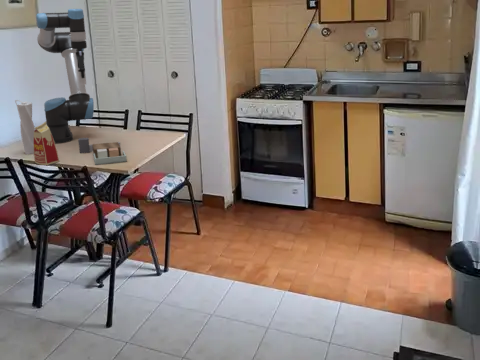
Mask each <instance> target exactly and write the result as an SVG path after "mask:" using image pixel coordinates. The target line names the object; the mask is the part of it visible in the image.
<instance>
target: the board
mask: <svg viewBox="0 0 480 360" xmlns="http://www.w3.org/2000/svg"><path fill="white" fill-rule="evenodd" d="M118 142H119V141H116V142H115V141H112V142H104V143H93V144H91V145H92V147H93V152H92V153H93V154H95V157H96V158H98V155H97V150H98V149H107V156H108V157H109V148H118V150H119V156H122V151H121V149H122V148H120V147H121V144H120V145H119V143H118ZM93 154H92V155H93Z"/></svg>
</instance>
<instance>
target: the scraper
mask: <svg viewBox="0 0 480 360" xmlns="http://www.w3.org/2000/svg"><path fill="white" fill-rule="evenodd" d="M77 140H78V148H79V154H86V153H87V154H89V153H93V147H92V144H90V140H89V137H80V138H78V139H77ZM117 142H118V143H119V145H120V148H121V141H117ZM121 149H122V148H121Z"/></svg>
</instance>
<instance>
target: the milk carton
mask: <svg viewBox="0 0 480 360" xmlns="http://www.w3.org/2000/svg"><path fill="white" fill-rule="evenodd" d="M34 128H35V131H34V142H33V143H34V153H33V156H34V157H33V159H34V163H35V164H37V165H39V166H49V165H53V164H56V163H60V158H59V154H58V150H57V149H58V148H57V145H56V143H55V142H54V139H53V136H52V134H51V132H50V129H49V127H48V126H47V124H46V121H44V122H43V123H41V124H40V125H38V126H36V127H35V126H34Z"/></svg>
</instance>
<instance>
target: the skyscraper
mask: <svg viewBox="0 0 480 360" xmlns="http://www.w3.org/2000/svg"><path fill="white" fill-rule="evenodd" d="M14 102H15V104H16V108H17V112H18V116H19V119H20V136H21V140H22V146H23V149H24V153H25V155H32V154H33V155H34V143H33V142H34V131H35V124H34V120H33V103H32V102H31V101H22V100H20V99H19V100H18V99H15V100H14ZM17 102H20V103H19V104H18V103H17Z"/></svg>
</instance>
